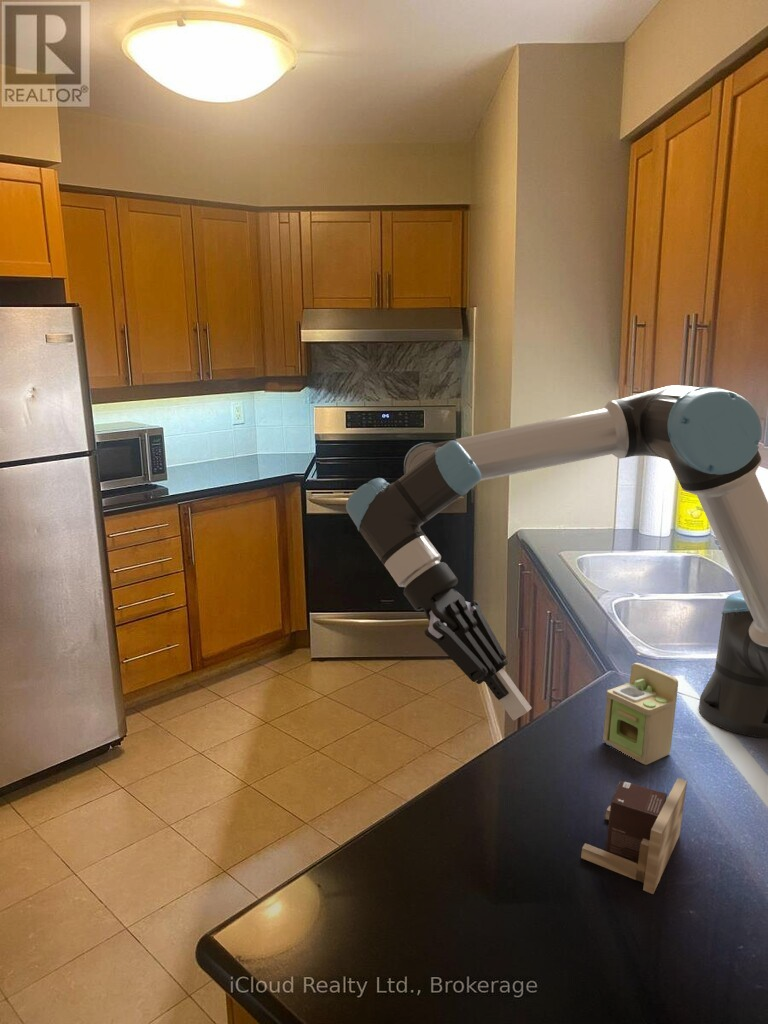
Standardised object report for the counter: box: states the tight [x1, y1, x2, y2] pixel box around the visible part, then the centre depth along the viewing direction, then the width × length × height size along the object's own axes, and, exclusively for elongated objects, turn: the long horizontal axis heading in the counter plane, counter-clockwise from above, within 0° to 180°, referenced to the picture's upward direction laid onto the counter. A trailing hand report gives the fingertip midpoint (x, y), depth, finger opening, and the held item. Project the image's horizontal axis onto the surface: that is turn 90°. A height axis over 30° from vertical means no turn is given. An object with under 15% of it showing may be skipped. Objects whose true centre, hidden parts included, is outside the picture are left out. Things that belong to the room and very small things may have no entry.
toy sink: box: [602, 662, 679, 766], centre depth 121 cm, size 9×7×13 cm
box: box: [604, 780, 668, 864], centre depth 96 cm, size 6×6×7 cm
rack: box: [580, 777, 688, 895], centre depth 95 cm, size 14×9×8 cm, turn 147°
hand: (522, 714), depth 102 cm, fingers closed
